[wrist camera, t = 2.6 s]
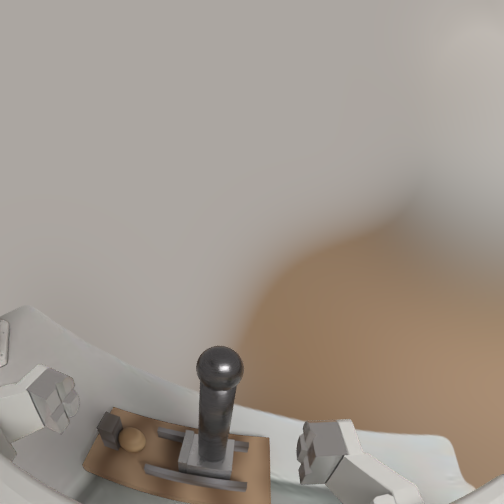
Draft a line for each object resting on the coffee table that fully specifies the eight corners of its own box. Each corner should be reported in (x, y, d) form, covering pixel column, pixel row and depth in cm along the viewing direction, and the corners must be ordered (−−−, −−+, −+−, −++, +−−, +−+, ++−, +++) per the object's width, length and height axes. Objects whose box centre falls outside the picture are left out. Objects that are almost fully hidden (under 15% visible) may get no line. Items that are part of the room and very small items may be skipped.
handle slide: (232, 451, 29) (253, 337, 24) (229, 482, 24) (252, 374, 19) (186, 444, 29) (186, 327, 24) (179, 474, 24) (171, 361, 19)
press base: (267, 443, 33) (275, 419, 31) (268, 511, 21) (278, 495, 20) (115, 413, 32) (108, 387, 31) (85, 470, 21) (71, 447, 19)
